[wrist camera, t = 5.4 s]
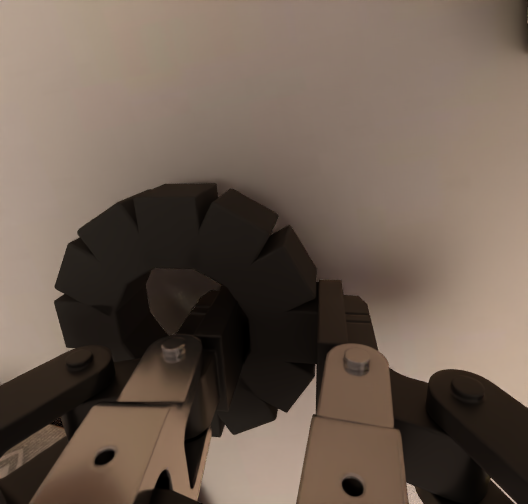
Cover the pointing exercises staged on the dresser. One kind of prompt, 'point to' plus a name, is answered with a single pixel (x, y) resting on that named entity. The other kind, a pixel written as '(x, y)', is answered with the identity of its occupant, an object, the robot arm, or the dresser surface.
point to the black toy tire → (211, 265)
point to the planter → (30, 448)
